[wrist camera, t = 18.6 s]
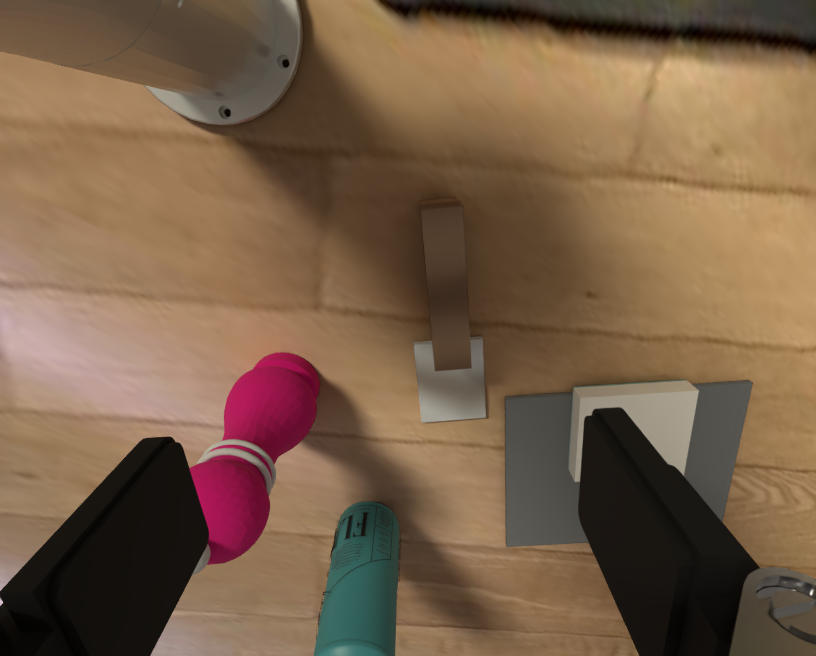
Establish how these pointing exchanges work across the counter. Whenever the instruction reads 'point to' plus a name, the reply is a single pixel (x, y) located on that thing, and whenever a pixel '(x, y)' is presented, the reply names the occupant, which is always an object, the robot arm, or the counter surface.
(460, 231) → the wooden handled spatula
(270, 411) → the pepper mill
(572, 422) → the tile
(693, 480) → the tile mat
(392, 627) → the beverage bottle
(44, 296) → the counter surface
